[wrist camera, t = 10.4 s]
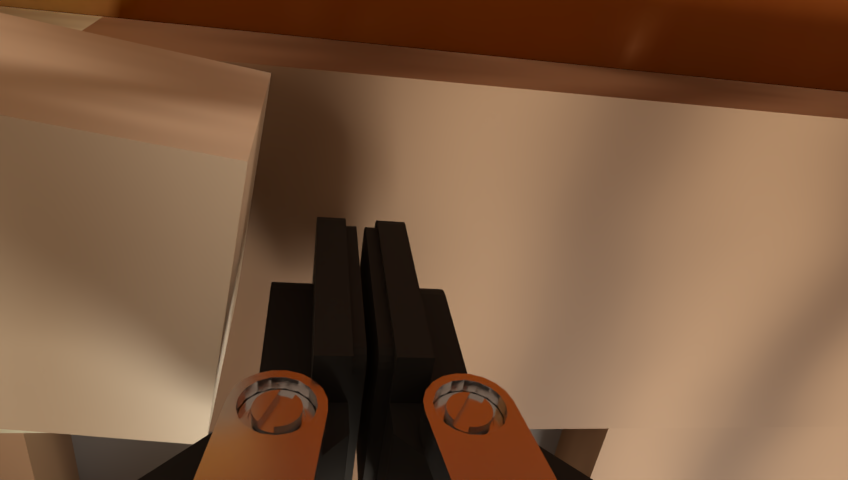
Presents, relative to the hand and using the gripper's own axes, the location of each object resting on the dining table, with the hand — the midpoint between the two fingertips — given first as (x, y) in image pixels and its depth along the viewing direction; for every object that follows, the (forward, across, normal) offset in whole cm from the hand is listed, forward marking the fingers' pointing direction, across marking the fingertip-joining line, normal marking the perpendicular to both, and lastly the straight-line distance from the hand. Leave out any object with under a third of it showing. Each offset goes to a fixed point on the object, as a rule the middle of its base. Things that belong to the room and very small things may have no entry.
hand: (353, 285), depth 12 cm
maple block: (+1, +4, -1) cm, 5 cm away
